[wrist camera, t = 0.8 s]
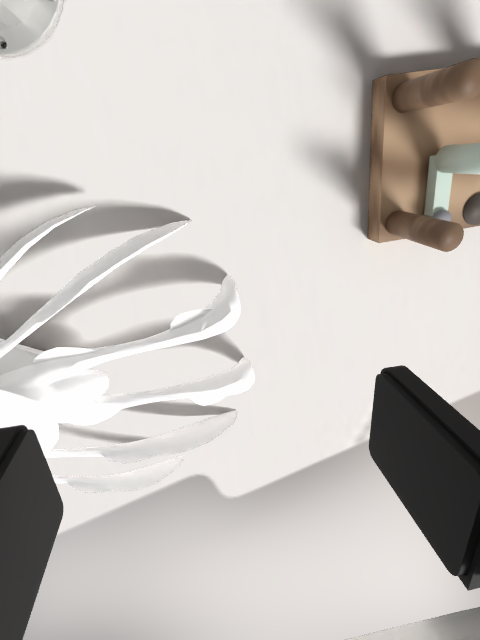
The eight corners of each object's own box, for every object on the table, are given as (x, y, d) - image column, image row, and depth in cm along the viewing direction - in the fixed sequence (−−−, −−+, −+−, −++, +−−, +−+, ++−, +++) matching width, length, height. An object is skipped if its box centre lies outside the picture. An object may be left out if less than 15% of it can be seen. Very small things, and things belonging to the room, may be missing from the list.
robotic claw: (199, 178, 40) (-235, 274, 31) (236, 180, 29) (-428, 332, 20) (249, 408, 55) (-35, 520, 46) (287, 469, 44) (-80, 632, 34)
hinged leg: (440, 224, 40) (502, 239, 33) (418, 227, 40) (477, 243, 32) (449, 143, 37) (522, 139, 29) (426, 146, 36) (494, 143, 29)
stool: (372, 80, 35) (450, 49, 26) (498, 65, 37) (617, 30, 27) (367, 238, 42) (427, 262, 32) (473, 220, 44) (561, 238, 34)
